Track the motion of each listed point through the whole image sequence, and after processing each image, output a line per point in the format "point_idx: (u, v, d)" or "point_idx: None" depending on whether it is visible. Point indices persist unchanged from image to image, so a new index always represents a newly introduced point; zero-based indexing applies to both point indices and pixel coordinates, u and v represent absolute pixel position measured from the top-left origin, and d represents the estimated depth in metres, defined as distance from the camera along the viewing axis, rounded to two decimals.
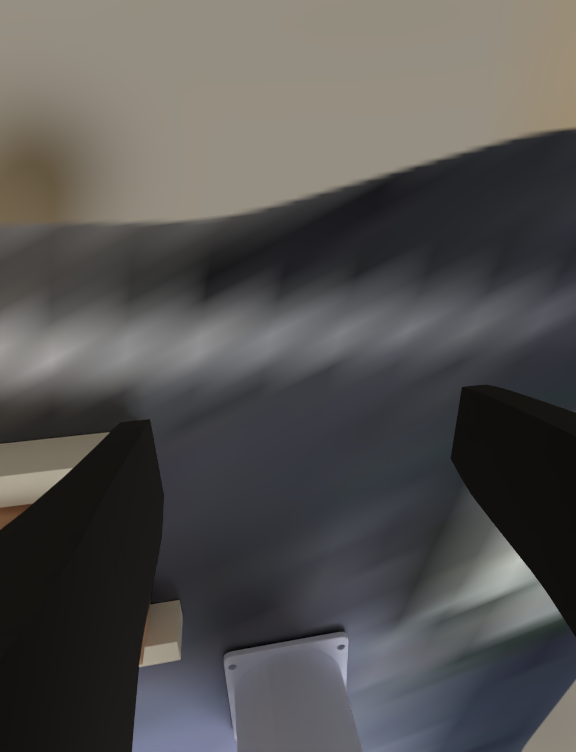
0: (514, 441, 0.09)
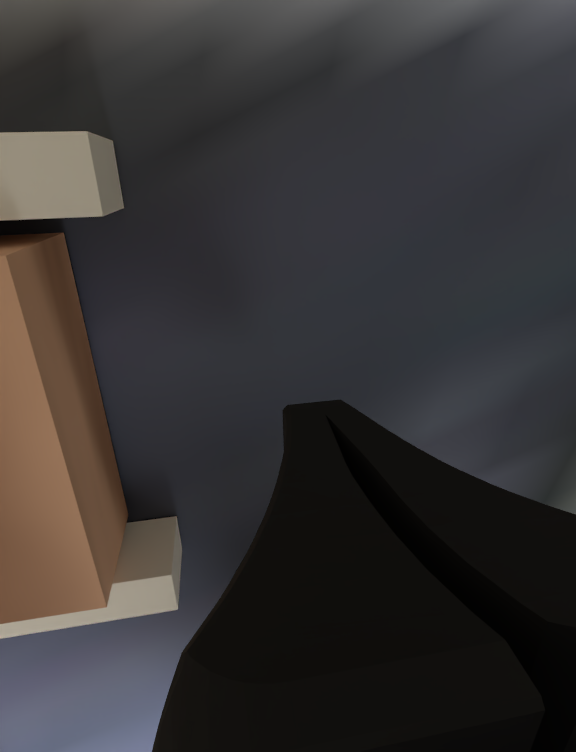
0: None
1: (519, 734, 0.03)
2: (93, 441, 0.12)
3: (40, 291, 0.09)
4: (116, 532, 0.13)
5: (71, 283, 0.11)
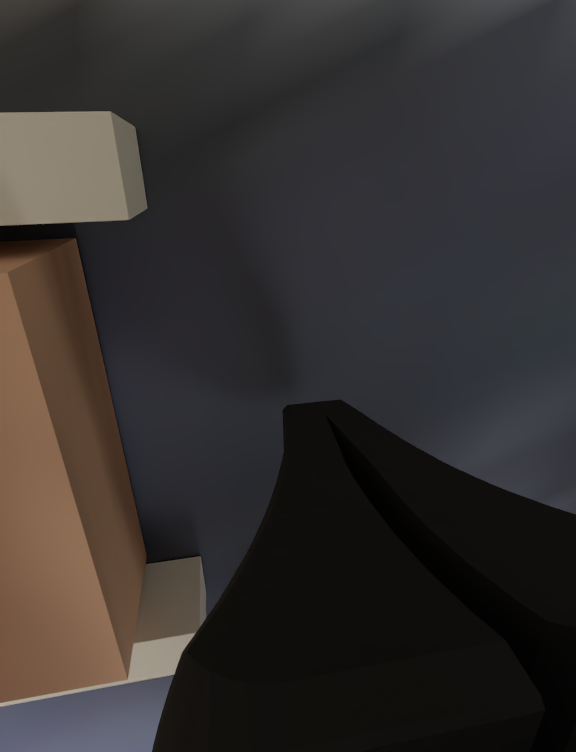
0: None
1: (518, 734, 0.03)
2: (110, 483, 0.10)
3: (49, 313, 0.07)
4: (136, 583, 0.11)
5: (84, 298, 0.09)
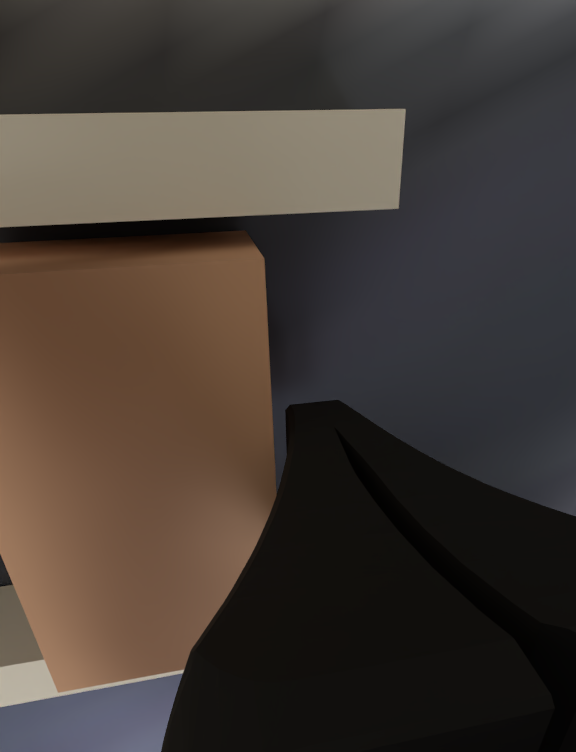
0: None
1: (518, 734, 0.03)
2: None
3: None
4: None
5: None
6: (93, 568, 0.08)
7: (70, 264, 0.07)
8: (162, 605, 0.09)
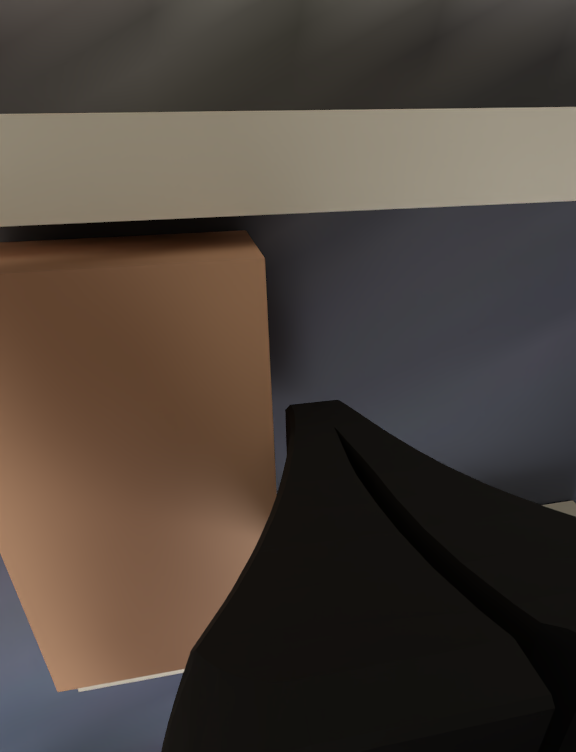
0: None
1: (519, 734, 0.03)
2: None
3: None
4: None
5: None
6: (93, 567, 0.08)
7: (70, 263, 0.07)
8: (162, 604, 0.09)
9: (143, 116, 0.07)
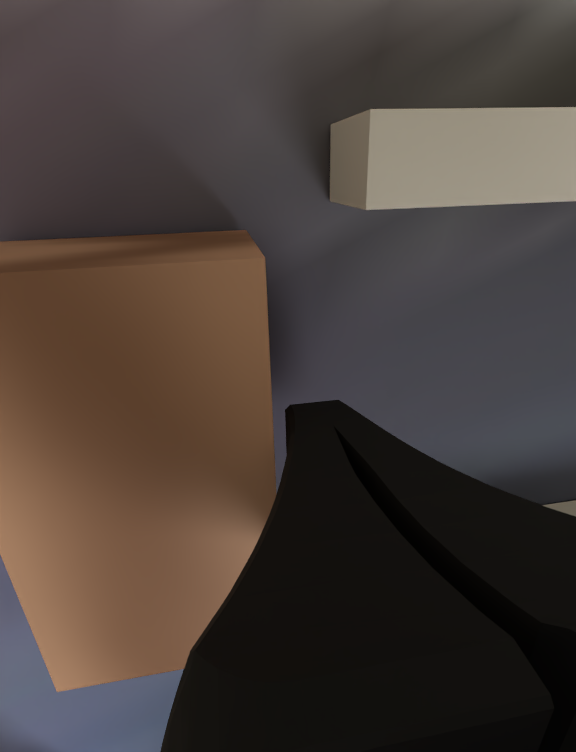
0: None
1: (518, 734, 0.03)
2: None
3: None
4: None
5: None
6: (92, 566, 0.08)
7: (71, 263, 0.06)
8: (162, 605, 0.09)
9: None
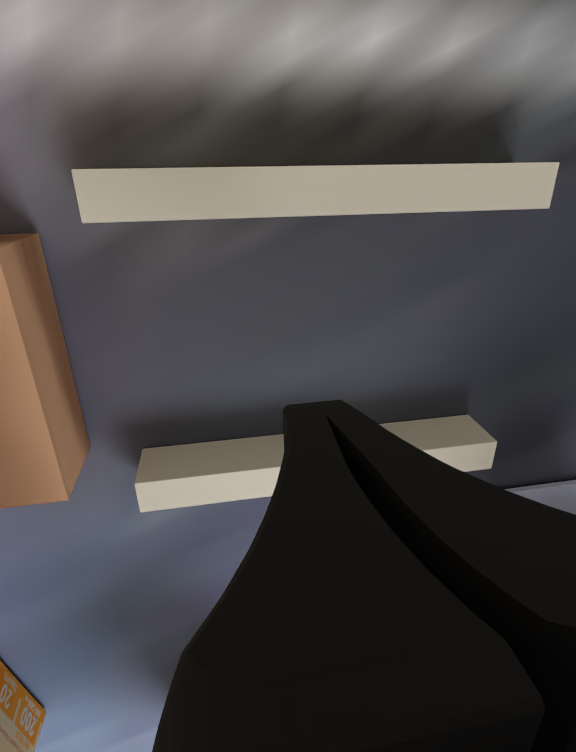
0: None
1: (519, 734, 0.03)
2: (59, 382, 0.16)
3: (19, 272, 0.14)
4: (79, 454, 0.18)
5: (43, 268, 0.16)
6: None
7: None
8: None
9: (200, 169, 0.13)
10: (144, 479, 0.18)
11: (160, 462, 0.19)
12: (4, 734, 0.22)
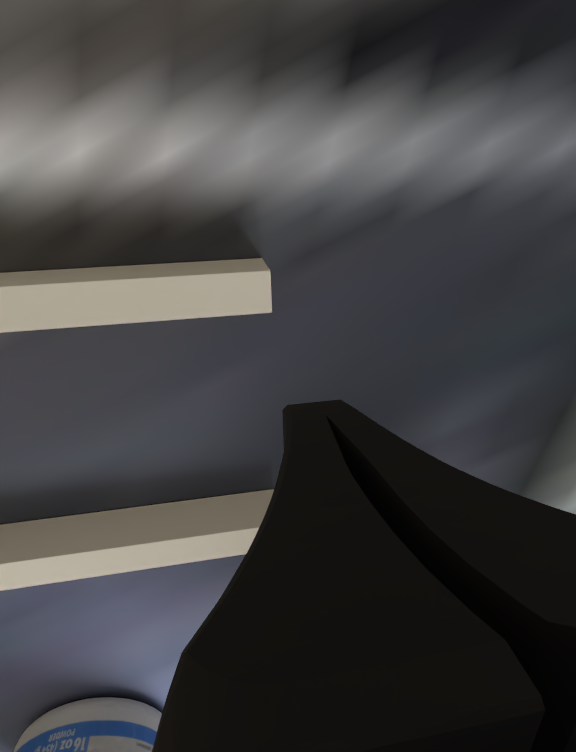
0: None
1: (518, 734, 0.03)
2: None
3: None
4: None
5: None
6: None
7: None
8: None
9: None
10: None
11: None
12: None
